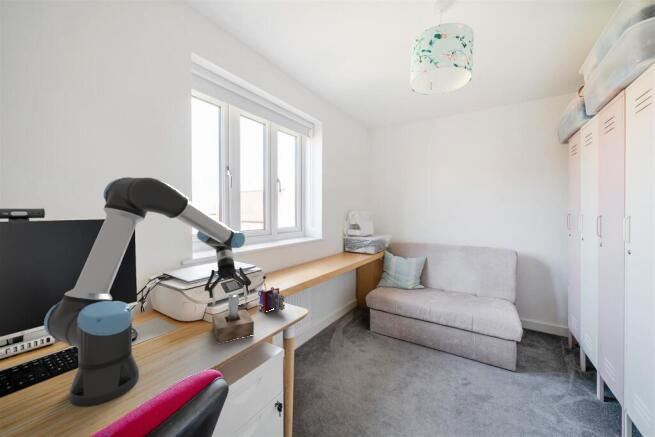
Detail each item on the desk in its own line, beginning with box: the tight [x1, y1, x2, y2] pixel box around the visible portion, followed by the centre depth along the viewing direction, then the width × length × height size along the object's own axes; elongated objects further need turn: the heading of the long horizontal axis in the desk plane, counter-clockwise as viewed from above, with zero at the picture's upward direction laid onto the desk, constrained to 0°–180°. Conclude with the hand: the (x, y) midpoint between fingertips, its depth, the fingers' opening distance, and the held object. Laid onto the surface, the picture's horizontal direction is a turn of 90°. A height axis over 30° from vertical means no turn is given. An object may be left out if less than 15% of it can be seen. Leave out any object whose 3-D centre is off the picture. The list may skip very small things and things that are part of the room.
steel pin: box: [227, 293, 239, 322], centre depth 109 cm, size 4×4×14 cm
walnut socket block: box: [211, 309, 255, 345], centre depth 109 cm, size 14×14×6 cm
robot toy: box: [257, 275, 286, 314], centre depth 133 cm, size 17×9×20 cm
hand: (230, 301), depth 115 cm, fingers open, 13 cm apart
